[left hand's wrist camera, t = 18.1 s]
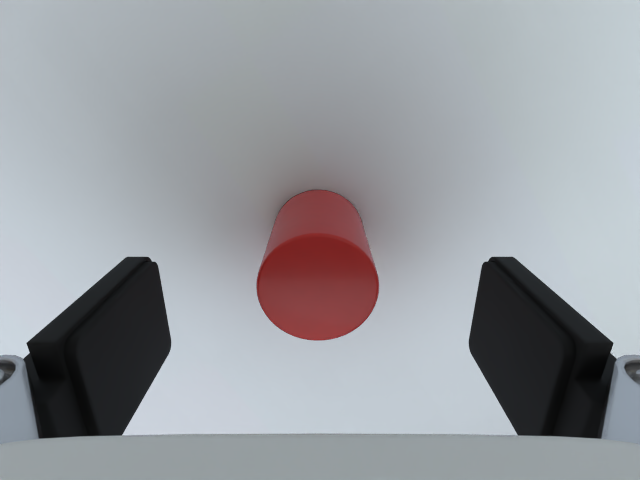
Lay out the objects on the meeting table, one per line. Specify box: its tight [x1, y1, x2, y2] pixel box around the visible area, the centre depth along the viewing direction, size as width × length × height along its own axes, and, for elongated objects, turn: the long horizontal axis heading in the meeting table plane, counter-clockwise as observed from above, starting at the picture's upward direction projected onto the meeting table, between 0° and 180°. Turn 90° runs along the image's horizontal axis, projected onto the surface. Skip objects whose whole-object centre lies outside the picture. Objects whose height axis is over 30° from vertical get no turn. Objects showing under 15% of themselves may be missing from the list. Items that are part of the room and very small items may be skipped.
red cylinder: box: [256, 190, 379, 340], centre depth 13 cm, size 4×4×5 cm
